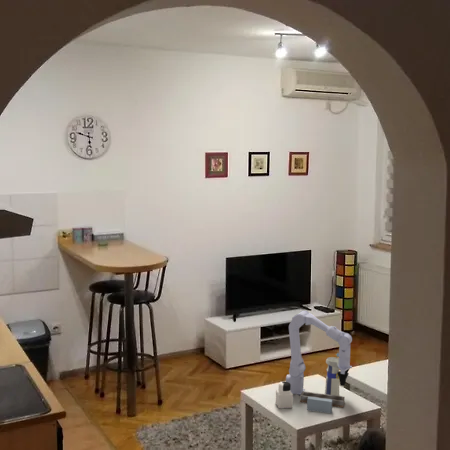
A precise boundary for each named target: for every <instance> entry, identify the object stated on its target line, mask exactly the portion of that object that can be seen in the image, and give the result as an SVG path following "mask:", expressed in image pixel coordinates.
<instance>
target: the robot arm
mask: <svg viewBox="0 0 450 450" xmlns="http://www.w3.org/2000/svg"><path fill="white" fill-rule="evenodd" d="M304 324H305V326H314V327H316V328H317V329H320V330H321V331H324V332H325V334H326V336H327V337H329V338H330V339H332V340H334V341H335V342H337V344H338V347H339V348H338V353H339V357H338V358H339V363H338V368H339V370H340V372H339V371H338V372H337V374H338V376H339V386H342V387H344V386H345V385H346V382H347V381H346V380H347V379H348V376H349V370H350V369H352V368H353V366H352V365H351V364H350V363H351V343H352V342H353V337H352V335H351V334H350V333H348V332H344V331H342V330H340V329H338V328H337V327H338V326H334V325H328V324H326V323H325V322H324V321H322V320H320V319H319V318H318V317H316V316H315V315H314V314H313V313H312V312H309V311H308V310H301V311H300V312H299V313H297V314H295V315H294V316H293V317H292V318H291V321H290V323H289V325H288V333H289V345H290V355H291V358H290V359H291V360H290V363H289V369H288V373H289V374H286V377H285V382H289V383H290V384H291V390H290V391H291V393H292V394H293V395H298V396H299V395H300V396H301V393H302V391H304V392H306V391H305V390H306V389H305V388H304V382H305V379H304V378H305V376H304V372H305V371H306V364H305V362H304V358H303V356H302V348H301V338H300V337H301V336H300V328H301V327H303V326H304Z"/></svg>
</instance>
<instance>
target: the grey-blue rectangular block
mask: <svg viewBox="0 0 450 450" xmlns="http://www.w3.org/2000/svg"><path fill="white" fill-rule="evenodd" d="M306 410H307V411H312V412H313V411H314V412H319V413H320V412H321V413H326V414H332V412H333V406H332V399H324V398H316V397H309V396H308V399H307V403H306Z"/></svg>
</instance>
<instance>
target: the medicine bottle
mask: <svg viewBox="0 0 450 450" xmlns="http://www.w3.org/2000/svg"><path fill="white" fill-rule="evenodd" d="M290 390H291V384H290V383H289V382H286V380H283V381H280V382H279V383H278V389H275V404H276V406H277V407H278V408H279V409H293V407H294V406H293V404H294V403H293V401H294V394H292V393H291V391H290Z"/></svg>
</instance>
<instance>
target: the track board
mask: <svg viewBox="0 0 450 450" xmlns="http://www.w3.org/2000/svg"><path fill="white" fill-rule="evenodd" d="M308 396H309V397H316V398H324V399H332V408H333V407H334V408H342V409H343V408H344V405H345V401H346V400H345V396H341V395H339V396H335V395H327V394H325V393H318V392H310V391H302V393H301V395H300V397H299V403H305V404H307V399H308Z"/></svg>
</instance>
